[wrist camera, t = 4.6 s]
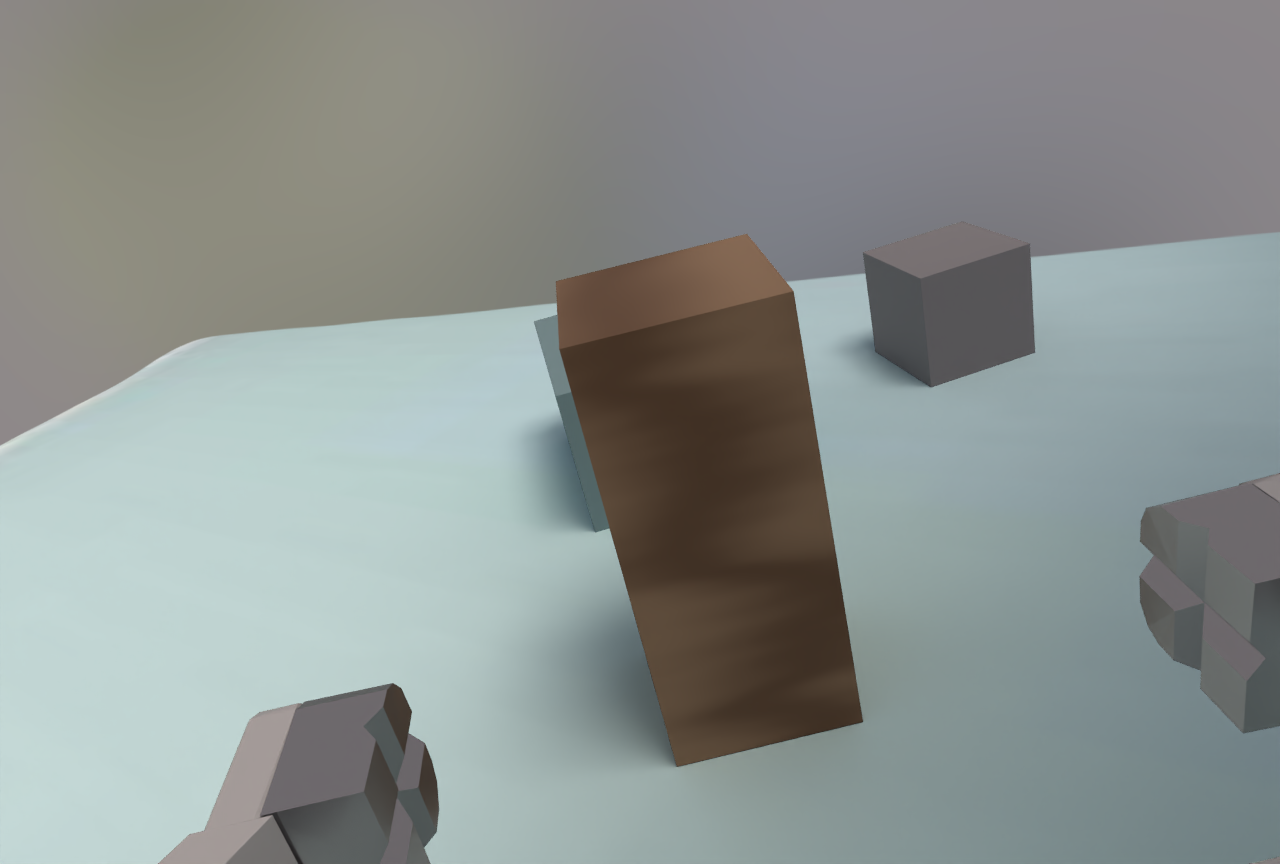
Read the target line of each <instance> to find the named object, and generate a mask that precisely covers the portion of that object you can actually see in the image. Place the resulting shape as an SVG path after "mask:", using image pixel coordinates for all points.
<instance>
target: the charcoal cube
mask: <svg viewBox="0 0 1280 864" xmlns="http://www.w3.org/2000/svg"><path fill="white" fill-rule="evenodd" d="M863 257H864V264H865V273H866V281H867V289H868V296H869V304H870V312H871V320H872V328H873V336H874V344H875V352H877V353H878V354H880V355H881V356H883V357H884V358H886V359H888V360H889V361H891V362H892V363H894V364H895V365H897V366H899V367H900V368H902V369H903V370H905V371H906V372H908V373H910V374H911V375H913V376H914V377H916V378H917V379H919V380H921V381H922V382H924V383H925V384H927V385H928V386H930V387H934V386H937V385H940V384H943V383H946V382H949V381H952V380H955V379H958V378H961V377H964V376H967V375H970V374H973V373H975V372H978V371H981V370H984V369H987V368H990V367H993V366H996V365H999V364H1002V363H1005V362H1008V361H1011V360H1014V359H1017V358H1020V357H1023V356H1026V355H1029V354H1032V353H1035V342H1034V321H1033V300H1032V279H1031V258H1030V244H1029V243H1026V242H1023V241H1020V240H1017V239H1014V238H1011V237H1008V236H1005V235H1002V234H999V233H996V232H993V231H990V230H987V229H984V228H981V227H978V226H974V225H971V224H968V223H965V222H959V223H956V224H952V225H949V226H946V227H943V228H940V229H937V230H933V231H930V232H927V233H924V234H921V235H917V236H914V237H911V238H907V239H904V240H902V241H898V242H895V243H892V244H888V245H885V246H882V247H879V248H875V249H872V250H869V251H866V252H863Z"/></svg>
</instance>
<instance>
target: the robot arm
mask: <svg viewBox="0 0 1280 864" xmlns="http://www.w3.org/2000/svg"><path fill="white" fill-rule="evenodd" d="M1140 542H1141V543H1142V544H1143V545H1144V546H1145V547H1146V548H1147V549H1148V550H1149V551H1150V552H1151V553H1152V554H1153V555H1154V556H1153V558H1152V559H1151V560H1150V562H1149V563H1148V565H1147V566H1146V568H1145V569H1144V571H1143V572H1142V573H1141V575H1140V603H1141V606H1142V609H1143V612H1144V615H1145V618H1146V621H1147V624H1148V627H1149V629H1150V630H1151V632H1152V634H1153V635H1154V637H1155V639H1156V640H1157V642H1158V644H1159V645H1160V646H1161V647H1162V648H1163V649H1164V650H1165V652H1166V653H1167V654H1168V655H1169V656H1170V657H1171V658H1172V659H1173V660H1174V661H1177V662H1179V663H1182V664H1185V665H1187V666H1190V667H1192V668H1195V669H1198V670H1200V671H1201V682H1200V689H1201V690H1202V691H1203V692H1204V693H1205V694H1206V695H1207V696H1208V697H1209V698H1210V699H1211V700H1212V702H1213V703H1214V704H1215V705H1216V706H1217V707H1218V708H1219V709H1220V710H1221V711H1222V712H1223V713H1224V714H1225V715H1226V716H1227V717H1228V718H1229V719H1230V720H1231V721H1232V722H1233V723H1234V724H1235V726H1236V727H1237V728H1238V729H1239V730H1240V731H1241V732H1242V733H1248V732H1253V731H1258V730H1262V729H1267V728H1272V727H1277V726H1280V473H1279V474H1275V475H1271V476H1267V477H1264V478H1260V479H1256V480H1252V481H1248V482H1245V483H1241V484H1239V485H1238V486H1235V487H1231V488H1227V489H1223V490H1218V491H1214V492H1210V493H1206V494H1202V495H1198V496H1194V497H1189V498H1185V499H1181V500H1177V501H1173V502H1169V503H1164V504H1160V505H1156V506H1152V507H1148V508H1146V510H1145V512H1144V515H1143V517H1142V520H1141V532H1140ZM411 714H412V711H411V709H410V707H409V704H408V702H407V700H406V698H405V696H404V693H403V691H402V689H401V688H400V687H398V686H397V685H395V684H394V683H391V684H387V685H382V686H377V687H372V688H368V689H363V690H358V691H353V692H349V693H344V694H339V695H335V696H330V697H325V698H320V699H316V700H311V701H306V702H304V703H303V704H300V703H298V704H293V705H289V706H285V707H280V708H276V709H272V710H267V711H263V712H259V713H258V714H256V715H255V716H254V717H252V718H251V719H250V720H249V722H248V724H247V726H246V729H245V731H244V734H243V736H242V739H241V741H240V744H239V746H238V748H237V751H236V753H235V756H234V758H233V761H232V763H231V766H230V768H229V771H228V773H227V775H226V778H225V780H224V783H223V785H222V788H221V790H220V793H219V795H218V798H217V800H216V803H215V805H214V807H213V810H212V812H211V815H210V817H209V820H208V822H207V825H206V827H205V830H204V831H201V832H197V833H193V834H189V835H188V836H187V837H186V838H185V839H184V840H183V841H182V842H181V843H180V844H179V845H178V846H177V847H175V848H174V849H173V850H172V851H171V852H170V853H169V854H168V855H167V856H166V857H165V858H164V859H163V860H161V861H160V862H159V863H158V864H431V863H430V861H429V859H428V856H427V854H426V852H425V849H424V847H425V846H426V845H427V843H428V842H429V841H430V840H431V838H432V837H433V836H434V835H435V833H436V832H437V824H438V814H439V802H438V789H437V780H436V776H435V772H434V768H433V764H432V760H431V758H430V755H429V752H428V750H427V747H426V745H425V743H424V742H422V741H420V740H419V739H417V738H416V737H414V736H412V735H411V734H409V733H408V732H409V726H410V720H411ZM1250 864H1280V857H1276V858H1272V859H1267V860H1263V861H1259V862H1254V863H1250Z"/></svg>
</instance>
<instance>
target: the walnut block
mask: <svg viewBox="0 0 1280 864" xmlns="http://www.w3.org/2000/svg"><path fill="white" fill-rule="evenodd" d="M556 292H557V314H558V335H559V350H560V354H561V357H562V361H563V364H564V368H565V372H566V375H567V379H568V382H569V386H570V389H571V393H572V396H573V400H574V403H575V407H576V410H577V414H578V418H579V421H580V425H581V428H582V432H583V435H584V439H585V442H586V446H587V449H588V453H589V457H590V460H591V464H592V467H593V471H594V474H595V478H596V481H597V485H598V488H599V492H600V496H601V499H602V503H603V506H604V510H605V513H606V517H607V520H608V524H609V527H610V531H611V535H612V538H613V542H614V545H615V549H616V552H617V556H618V559H619V563H620V566H621V570H622V574H623V577H624V581H625V584H626V588H627V591H628V595H629V598H630V602H631V605H632V609H633V612H634V616H635V620H636V623H637V627H638V630H639V634H640V637H641V641H642V644H643V648H644V651H645V655H646V659H647V662H648V666H649V669H650V673H651V676H652V680H653V683H654V687H655V690H656V694H657V698H658V701H659V705H660V708H661V712H662V715H663V719H664V722H665V726H666V729H667V733H668V737H669V740H670V744H671V747H672V751H673V754H674V758H675V761H676V765H677V767H678V766H682V765H686V764H690V763H694V762H699V761H703V760H707V759H711V758H715V757H719V756H723V755H728V754H732V753H736V752H740V751H744V750H748V749H752V748H757V747H761V746H765V745H769V744H773V743H777V742H781V741H786V740H790V739H794V738H798V737H802V736H806V735H810V734H815V733H819V732H823V731H827V730H831V729H835V728H839V727H843V726H848V725H852V724H856V723H860V722H863V719H862V713H861V707H860V701H859V694H858V688H857V682H856V676H855V670H854V663H853V657H852V651H851V645H850V639H849V632H848V626H847V620H846V614H845V607H844V601H843V595H842V589H841V583H840V576H839V570H838V564H837V558H836V552H835V545H834V539H833V533H832V527H831V521H830V514H829V508H828V502H827V496H826V490H825V483H824V477H823V471H822V465H821V459H820V452H819V446H818V440H817V434H816V428H815V421H814V415H813V409H812V403H811V397H810V390H809V384H808V378H807V372H806V366H805V359H804V353H803V347H802V341H801V335H800V328H799V322H798V316H797V310H796V304H795V297H794V291H793V290H792V289H791V288H790V286H789V285H788V284H787V283H786V281H785V280H784V279H783V278H782V277H781V275H780V274H779V273H778V272H777V270H776V269H775V268H774V267H773V265H772V264H771V263H770V262H769V261H768V259H767V258H766V257H765V256H764V254H763V253H762V252H761V251H760V249H759V248H758V247H757V246H756V245H755V243H754V242H753V241H752V240H751V238H750V237H749V236H748V235H747V234H745V235H741V236H736V237H733V238H728V239H724V240H721V241H716V242H712V243H708V244H704V245H700V246H696V247H692V248H688V249H684V250H680V251H676V252H672V253H668V254H664V255H660V256H656V257H652V258H648V259H644V260H640V261H636V262H632V263H628V264H624V265H620V266H616V267H612V268H608V269H604V270H600V271H595V272H591V273H587V274H584V275H580V276H575V277H572V278H567V279H564V280H559V281H556Z"/></svg>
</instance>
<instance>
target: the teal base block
mask: <svg viewBox="0 0 1280 864" xmlns="http://www.w3.org/2000/svg"><path fill="white" fill-rule="evenodd" d="M534 324H535V327H536V331H537V334H538V337H539V341H540V344H541V348H542V351H543V355H544V358H545V362H546V365H547V369H548V372H549V376H550V379H551V383H552V386H553V389H554V393H555V396H556V400H557V403H558V407H559V410H560V413H561V417H562V420H563V424H564V427H565V431H566V434H567V437H568V441H569V444H570V448H571V451H572V455H573V458H574V461H575V465H576V468H577V472H578V475H579V479H580V482H581V485H582V489H583V492H584V496H585V499H586V502H587V506H588V509H589V513H590V516H591V520H592V523H593V526H594V530H595V532H598V531H602V530H605V529H608V528H610V527H609V524H608V520H607V517H606V513H605V510H604V506H603V503H602V499H601V496H600V492H599V488H598V485H597V481H596V478H595V474H594V471H593V467H592V464H591V460H590V457H589V453H588V449H587V446H586V442H585V439H584V435H583V432H582V428H581V425H580V421H579V418H578V414H577V410H576V407H575V403H574V400H573V396H572V393H571V389H570V386H569V382H568V379H567V375H566V372H565V368H564V364H563V361H562V357H561V354H560V350H559V335H558V315H555V316H552V317H548V318H544V319H541V320H537V321H534Z"/></svg>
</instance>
